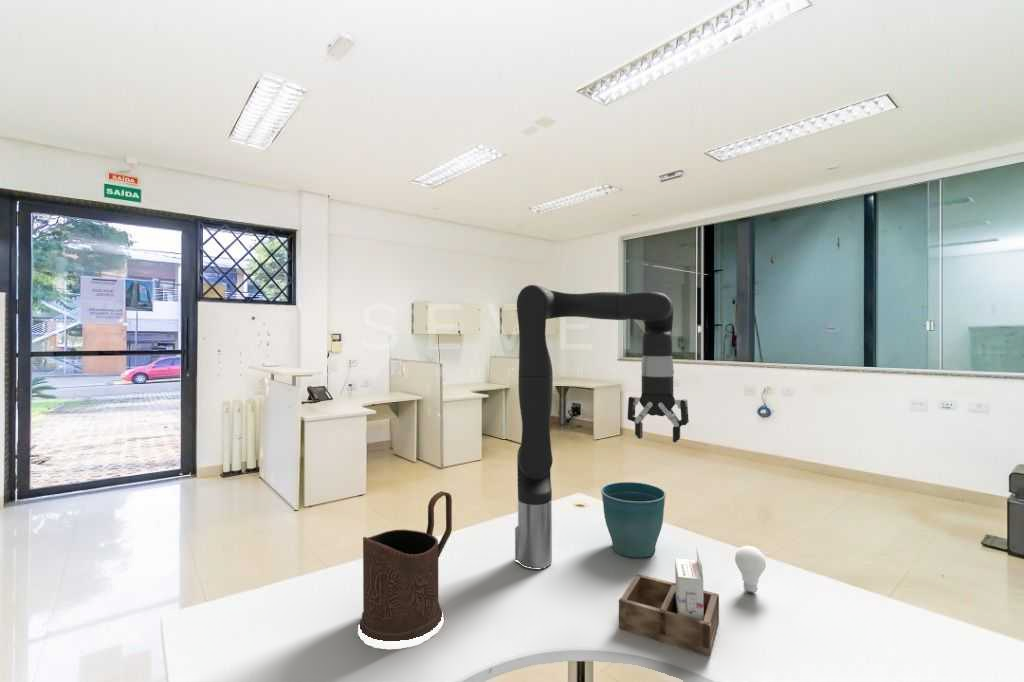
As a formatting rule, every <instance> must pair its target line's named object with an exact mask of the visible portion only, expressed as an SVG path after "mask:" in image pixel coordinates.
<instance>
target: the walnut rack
mask: <svg viewBox="0 0 1024 682" xmlns="http://www.w3.org/2000/svg"><path fill="white" fill-rule="evenodd" d="M675 583H676V582H671V581H667V580H662V579H660V578H655V577H652V576H648V575H643V574H639V573H635V574H634V578H632V581H631V582H630V583H629V585H628V586H627V588H626V589H625V592H623V594H622V596H621V597H620V598H619V599H618V629H620V630H623V631H626V632H629V633H633V634H635V635H639V636H641V637H646V638H648V639H652V640H655V641H658V642H661V643H664V644H667V645H670V646H674V647H677V648H681V649H684V650H687V651H690V652H693V653H696V654H699V655H703V656H706V657H709V658H711V655H712V653H713V647H714V643H715V641H716V636H717V631H718V627H719V623H720V594H719V593H716V592H713V591H712V592H711V591H707V590H705V589H703V599H704V600H703V605H704V621H702V620H698V619H694V618H691V617H687V616H684V615H680V614H676V584H675Z"/></svg>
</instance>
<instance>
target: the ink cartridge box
mask: <svg viewBox="0 0 1024 682" xmlns="http://www.w3.org/2000/svg"><path fill="white" fill-rule="evenodd" d="M695 550H696V559H697V560H693V559H685V558H677V557H676V558H674V565H675V566H674V567H675V568H674V571H675V572H674V573H675V575H674V576H675V582H674V583H675V584H676V614H680V615H684V616H687V617H691V618H694V619H698V620H702V621H704V605H703V600H704V599H703V590H704V575H703V564H702V560H701V557H700V554H699V550H698V547H696V548H695Z"/></svg>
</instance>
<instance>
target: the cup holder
mask: <svg viewBox="0 0 1024 682" xmlns="http://www.w3.org/2000/svg"><path fill="white" fill-rule="evenodd" d="M444 496H445V524H446V525H445V531H444V532H443V535H442V537H441V539H440V541H438V538H437V537H435V536H434V535H433V534H434V528H435V506H436V504H437V502H438V500H439V499H441V498H442V497H444ZM452 500H453V498H452V495H451V493H449V492H446V491H439V492H437V493H435V494H434V495H433V496H432V497H431V498H430V500H429V502H428V506H427V527H426V532H423V531H418V530H414V529H413V530H411V529H392V530H387V531H383V532H381V533H378V534H375V535H372V536H368V537H367V536H363V537H362V564H363V565H362V571H363V572H362V574H363V577H362V578H363V579H362V581H363V582H362V583H363V584H362V587H363V591H362V595H363V596H362V598H363V600H362V601H363V604H362V605H363V609H362V610H363V611H362V612H361V618H362V619H361V618H360V619H359V620H360V621H359V622H360V629H361V630H362V633H364V634H365V635H367V636H368V637H371V638H373V639H377V640H383V641H400V640H409V639H413V638H416V637H420V636H423V635H424V634H426V633H428V632H430V631H431V630H433V628H435V627H436V626H437V625H438V623H439V622H440V621H441V617H442V611H443V610H442V608H441V605H440V601H439V558H440V556H441V553H442V552H443V550H444V548H445V546H446V544H447V542H448V540H449V538H450V536H451V534H452V530H453V520H452V519H453V501H452ZM441 610H442V611H441Z"/></svg>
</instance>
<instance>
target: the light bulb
mask: <svg viewBox="0 0 1024 682" xmlns="http://www.w3.org/2000/svg"><path fill="white" fill-rule="evenodd" d="M734 555H735V556H734V561H735V564H736V567H737V569H739V572H740V574H741V578H742V581H743V585H742V587H743V590H744V591H745V592H748V593H749V594H755V593H757V591H758V583H759V579H760V576H762V575H763V572H764V571H765V569H766V567H767V562H766V558H765V555H764V553H762V551H761V550H759V549H758V548H757V547H755V546H752V545H743V546H741V547H740V548H738V549H737V551H736V552H735V554H734Z"/></svg>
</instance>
